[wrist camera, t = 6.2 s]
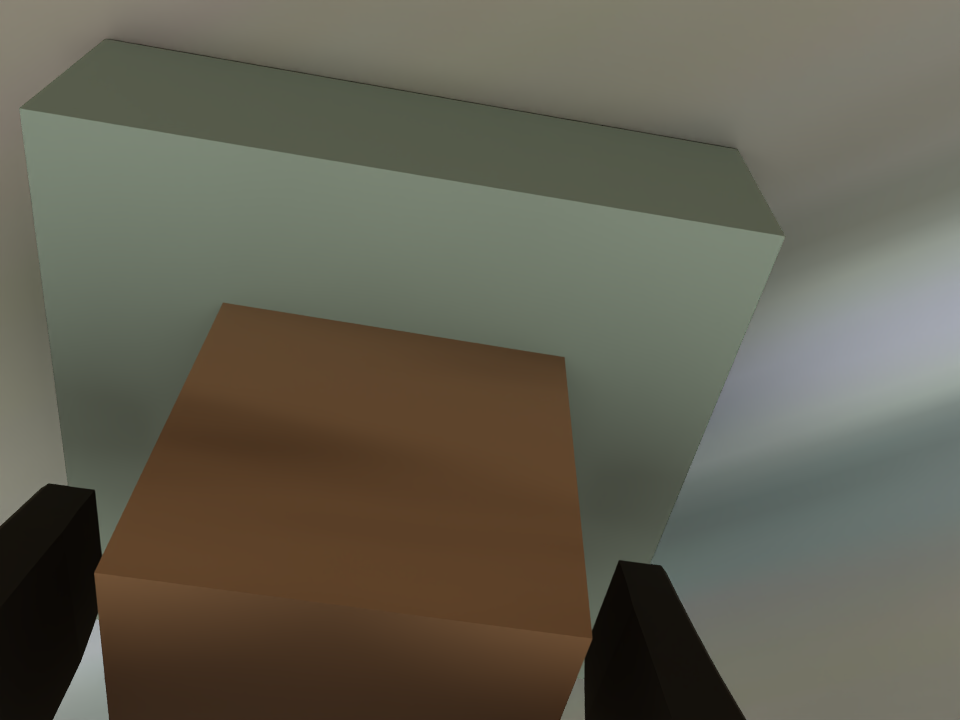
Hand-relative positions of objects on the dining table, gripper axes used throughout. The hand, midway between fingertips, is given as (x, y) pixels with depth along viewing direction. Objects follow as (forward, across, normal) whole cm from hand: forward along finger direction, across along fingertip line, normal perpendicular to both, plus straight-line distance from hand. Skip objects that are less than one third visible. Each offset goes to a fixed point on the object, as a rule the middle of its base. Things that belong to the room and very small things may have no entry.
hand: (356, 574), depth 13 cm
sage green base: (+5, 0, 0) cm, 5 cm away
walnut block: (+2, 0, 0) cm, 2 cm away
